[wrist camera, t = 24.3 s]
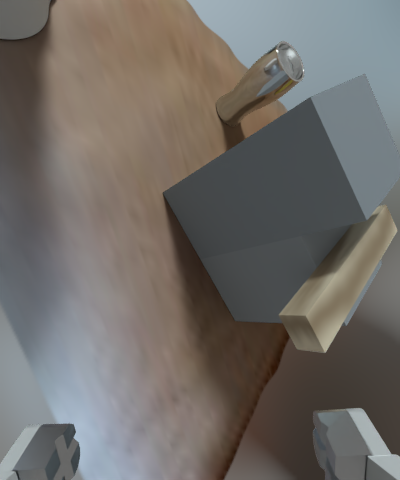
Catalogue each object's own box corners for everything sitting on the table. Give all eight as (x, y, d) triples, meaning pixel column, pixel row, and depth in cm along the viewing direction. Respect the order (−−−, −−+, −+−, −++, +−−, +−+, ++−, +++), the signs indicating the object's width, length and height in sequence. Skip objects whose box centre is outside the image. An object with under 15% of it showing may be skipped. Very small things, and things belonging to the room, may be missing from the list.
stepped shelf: (162, 192, 46) (310, 97, 25) (219, 163, 54) (365, 73, 34) (235, 321, 50) (416, 329, 29) (277, 275, 58) (442, 256, 37)
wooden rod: (278, 315, 28) (305, 315, 26) (363, 210, 42) (386, 204, 40) (296, 349, 29) (325, 352, 26) (374, 234, 43) (397, 230, 41)
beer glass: (243, 108, 61) (306, 60, 49) (238, 135, 59) (303, 91, 47) (217, 88, 58) (278, 30, 46) (211, 115, 55) (274, 62, 43)
